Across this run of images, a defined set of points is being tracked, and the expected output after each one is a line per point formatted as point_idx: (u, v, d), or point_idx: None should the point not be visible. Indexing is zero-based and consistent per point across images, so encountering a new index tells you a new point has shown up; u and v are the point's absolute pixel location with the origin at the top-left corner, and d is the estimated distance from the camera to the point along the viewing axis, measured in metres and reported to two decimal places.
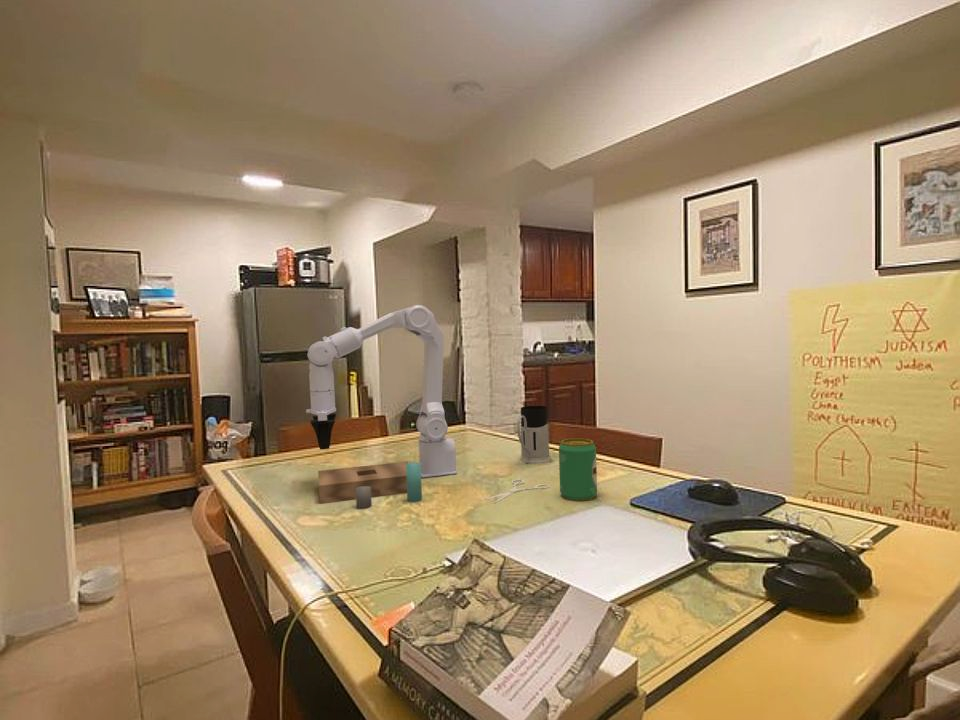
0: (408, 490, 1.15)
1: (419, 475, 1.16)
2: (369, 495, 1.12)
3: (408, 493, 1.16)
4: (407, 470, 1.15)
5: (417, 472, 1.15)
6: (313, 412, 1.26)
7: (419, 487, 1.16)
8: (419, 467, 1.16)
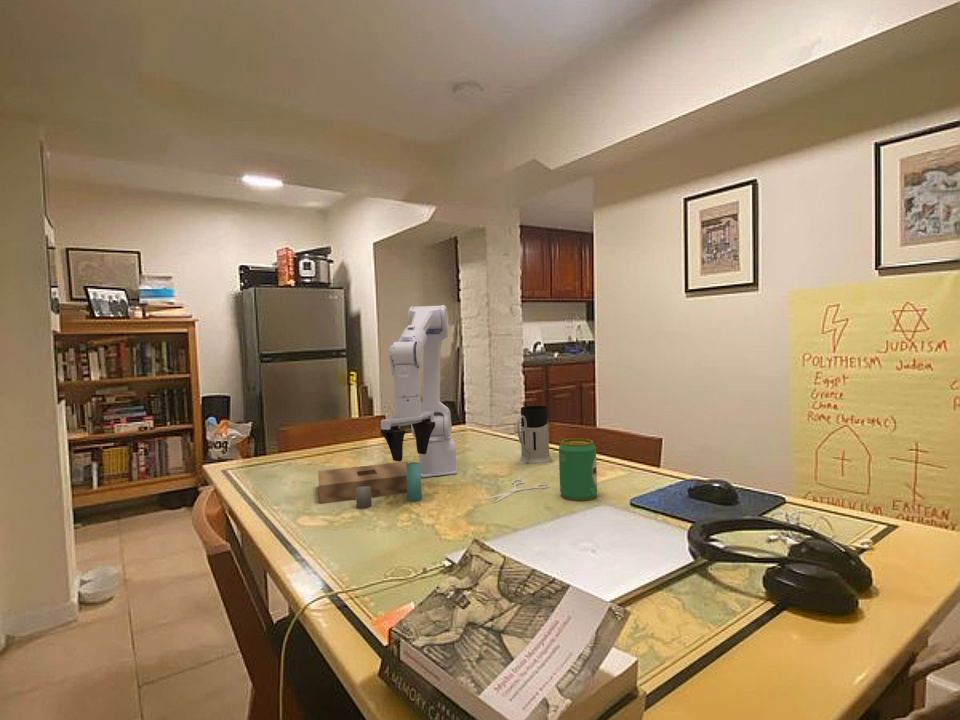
0: (408, 490, 1.15)
1: (419, 475, 1.16)
2: (369, 495, 1.12)
3: (408, 493, 1.16)
4: (407, 470, 1.15)
5: (417, 472, 1.15)
6: None
7: (419, 487, 1.16)
8: (419, 467, 1.16)
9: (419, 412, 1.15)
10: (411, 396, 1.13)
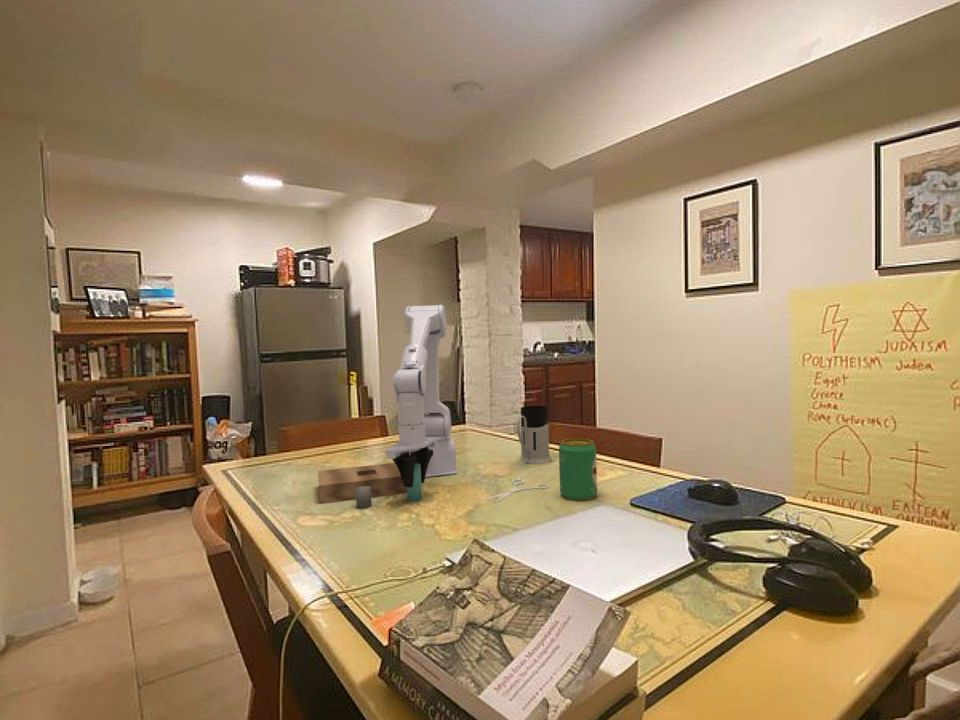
0: (408, 490, 1.15)
1: (419, 475, 1.16)
2: (369, 495, 1.12)
3: (408, 493, 1.16)
4: None
5: (417, 472, 1.15)
6: None
7: (419, 487, 1.16)
8: (419, 467, 1.16)
9: (423, 440, 1.15)
10: (416, 424, 1.13)
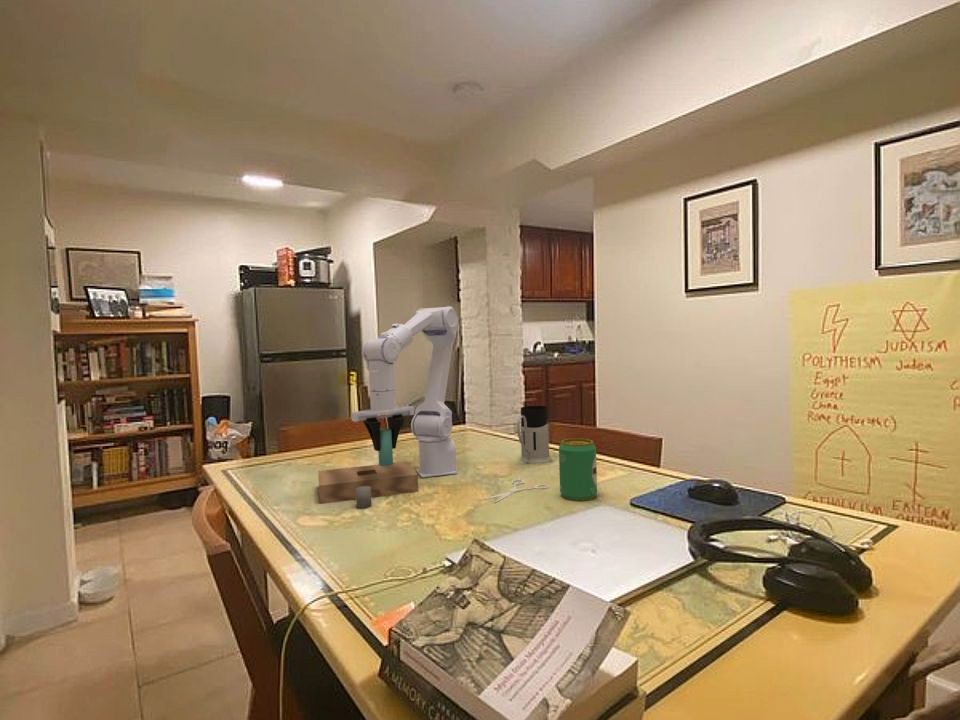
0: None
1: (388, 440, 1.20)
2: (369, 495, 1.12)
3: (379, 457, 1.21)
4: None
5: (386, 437, 1.20)
6: None
7: (388, 452, 1.20)
8: (388, 433, 1.20)
9: (390, 406, 1.19)
10: (380, 391, 1.18)
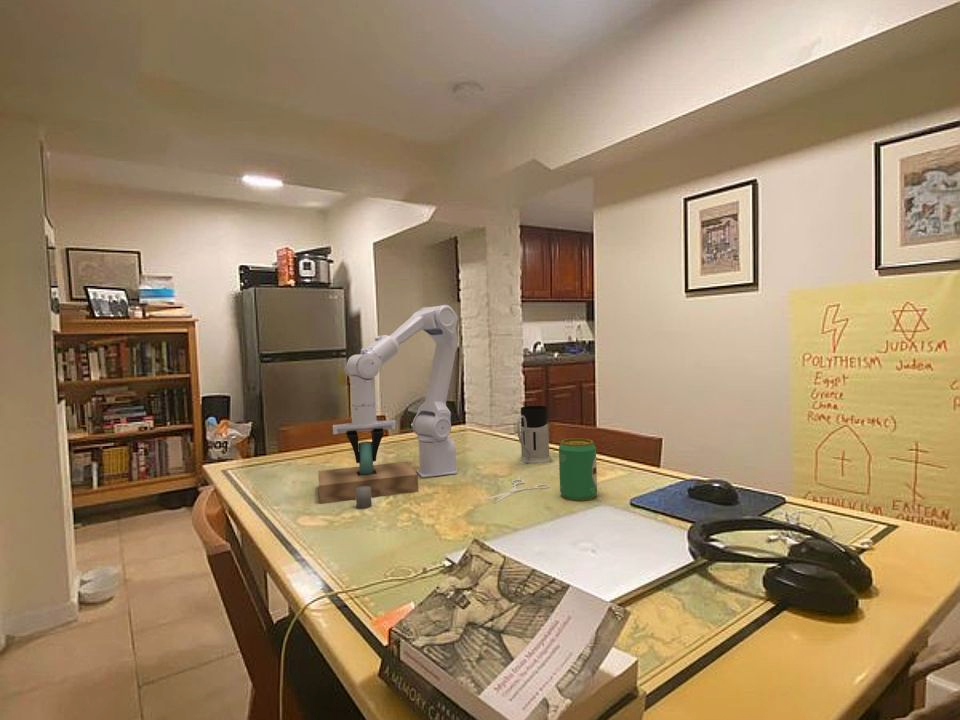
0: (359, 466, 1.25)
1: (367, 453, 1.24)
2: (369, 495, 1.12)
3: None
4: None
5: (365, 450, 1.24)
6: None
7: (367, 465, 1.24)
8: (368, 446, 1.24)
9: (368, 421, 1.23)
10: (358, 405, 1.23)
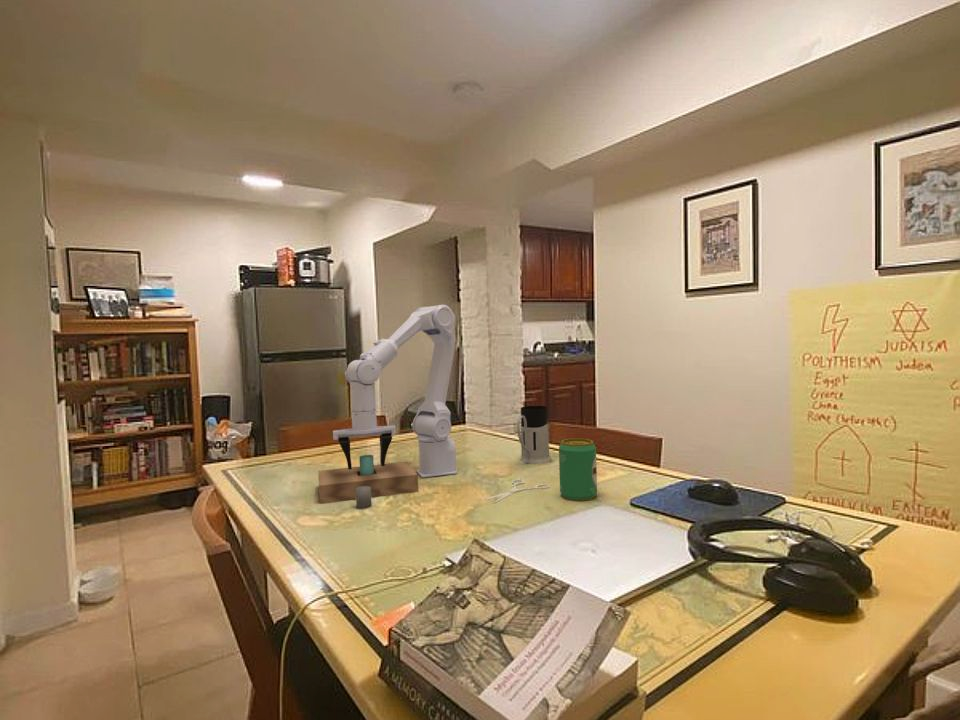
0: None
1: (368, 467, 1.24)
2: (369, 495, 1.12)
3: None
4: None
5: (366, 464, 1.24)
6: None
7: None
8: (369, 460, 1.24)
9: (368, 426, 1.23)
10: (359, 411, 1.23)
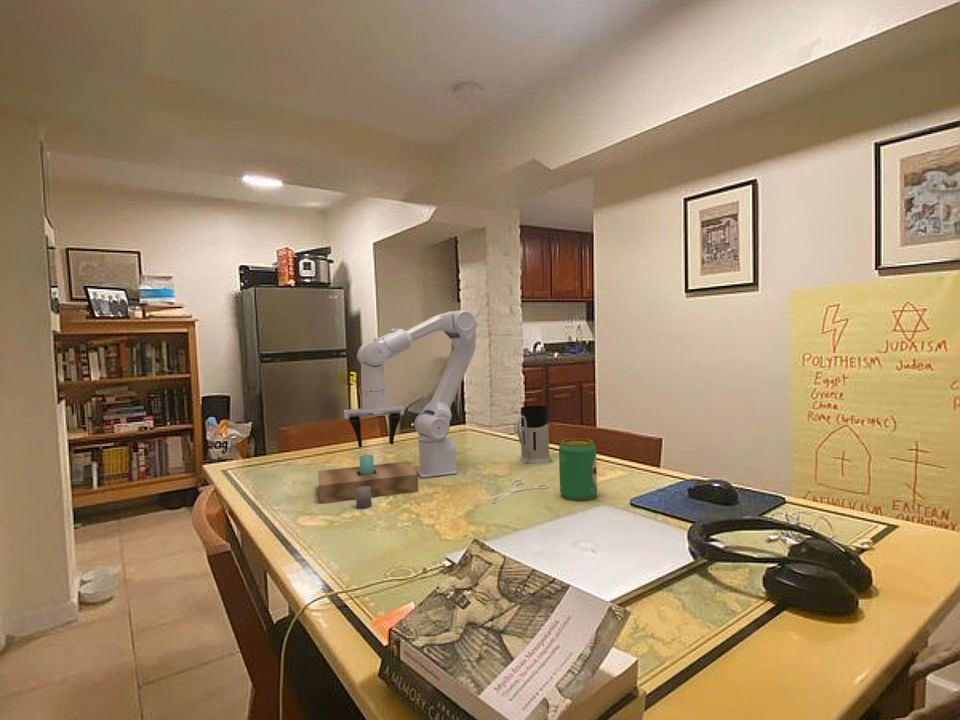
0: None
1: (369, 467, 1.24)
2: (369, 495, 1.12)
3: None
4: None
5: (366, 464, 1.24)
6: None
7: None
8: (369, 460, 1.24)
9: (378, 406, 1.29)
10: (369, 391, 1.28)
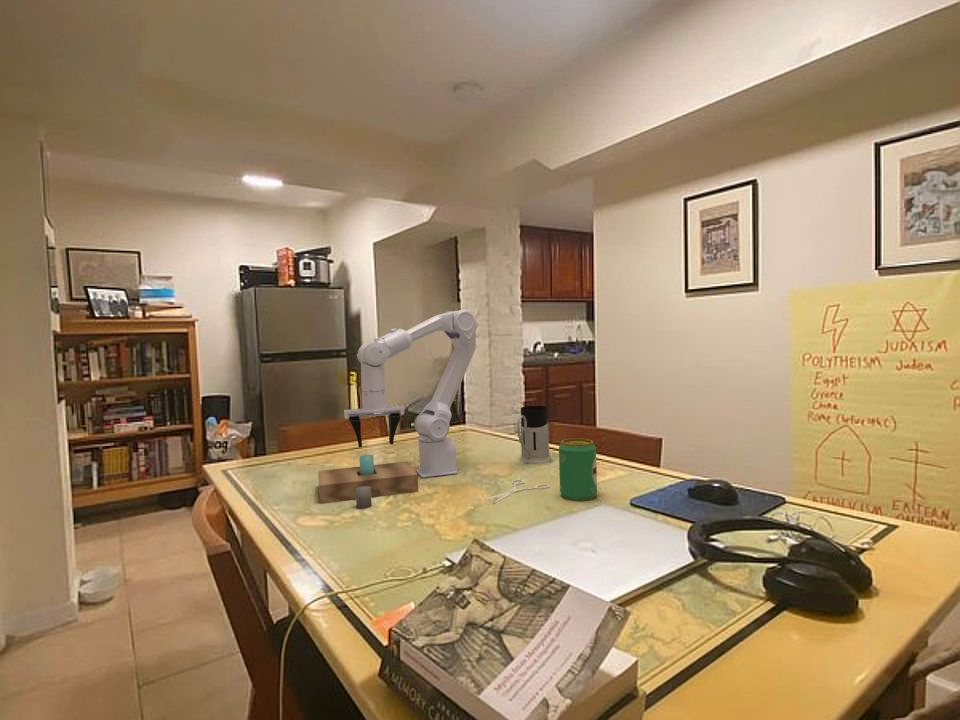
0: None
1: (369, 467, 1.24)
2: (369, 495, 1.12)
3: None
4: None
5: (366, 464, 1.24)
6: None
7: None
8: (369, 460, 1.24)
9: (378, 406, 1.29)
10: (369, 391, 1.28)
